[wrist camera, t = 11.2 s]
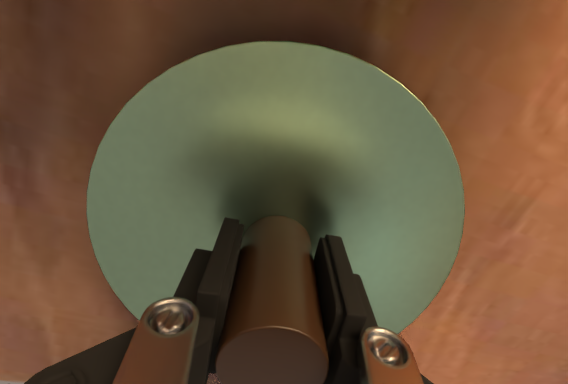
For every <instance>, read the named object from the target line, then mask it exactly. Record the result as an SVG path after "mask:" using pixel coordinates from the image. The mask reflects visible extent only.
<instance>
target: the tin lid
mask: <svg viewBox="0 0 568 384" xmlns="http://www.w3.org/2000/svg"><path fill="white" fill-rule="evenodd" d="M86 214H87V222H88V229H89V236H90V240H91V243H92V246H93V250H94V253H95V257H96V259H97V261H98V263H99V266H100V268H101V270H102V272H103V275H104V276H105V278H106V280H107V281H108V283H109V285H110V286H111V288H112V289H113V291H114V293H115V294H116V295H117V297H118V298H119V299H120V300H121V302H122V303H123V304H124V305H125V307H126V308H127V309H128V310H129V311H130V312H131V313H132V314H133V315H134V316H135V317H136V318H137V319H138V320H139V321H140V318H141V316H142V314H143V313H144V311H145V309H146V308H147V307H148V306H150V305H151V304H152V303H153V302H156V301H158V300H160V299H163V298H167V297H173V296H174V294H175V292H176V289H177V287H178V285H179V283H180V281H181V279H182V276H183V274H184V272H185V270H186V268H187V265H188V263H189V261H190V259H191V257H192V255H193V252H194V251H195V249H196V248H197V249H204V250H210V251H213V248H214V245H215V242H216V240H217V237H218V234H219V231H220V229H221V226H222V223H223V221H224V218H225V217H227V218H233V219H238V220H239V224H244V231H243V237H242V243H241V249H240V254H239V258H238V263H237V267H236V272H235V276H234V281H233V285H232V290H231V294H230V299H229V303H228V308H227V312H226V317H225V321H224V326H223V330H222V334H221V337H220V341H219V345H218V350H217V354H216V358H215V371H216V374H217V377H218V379H219V381H220V383H221V384H323V383H324V382H325V380H326V378H327V375H328V371H329V359H328V352H327V346H326V339H325V332H324V326H323V319H322V313H321V306H320V300H319V293H318V286H317V280H316V273H315V267H314V256H315V252H316V249H317V245H318V242H319V239H320V237H323V238H325V235H326V234H327V235H333V236H339V237H341V238H342V240H343V243H344V247H345V250H346V253H347V256H348V259H349V262H350V265H351V268H352V271H353V273H354V274H358V275H360V277H361V279H362V282H363V285H364V288H365V291H366V293H367V296H368V299H369V302H370V305H371V307H372V310H373V313H374V316H375V319H376V322H377V324H378V327H383V328H386V329H389V330H391V331H393V332H395V333H397V334H399V333H400V332H401V331H402V330H404V329H405V328H406V327H407V326H408V325H410V324H411V323H412V322H413V321H414V320H415V319H416V318H417V317H418V316H419V315H420V314H421V313H422V312H423V311H424V310H425V309H426V308H427V307H428V305H429V304H430V303H431V301H432V300H433V299H434V297H435V296H436V295H437V294H438V292H439V291H440V289H441V287H442V286H443V284H444V282H445V280H446V279H447V277H448V275H449V273H450V271H451V269H452V266H453V264H454V261H455V259H456V256H457V254H458V250H459V246H460V242H461V238H462V234H463V225H464V215H465V205H464V189H463V184H462V179H461V174H460V169H459V165H458V163H457V160H456V157H455V155H454V152H453V150H452V147H451V144H450V142H449V141H448V139H447V137H446V135H445V134H444V132H443V130H442V128H441V127H440V125H439V123H438V122H437V120H436V119H435V118H434V117H433V115H432V114H431V113H430V112H429V110H428V109H427V108H426V107H425V105H424V104H423V103H422V102H421V101H420V100H419V99H418V98H417V97H416V96H415V95H414V94H413V93H412V92H410V91H409V90H408V89H407V88H406V87H405V86H404V85H403V84H402V83H401V82H399V81H398V80H396V79H395V78H393V77H391V76H390V75H388V74H387V73H385V72H384V71H382V70H381V69H379V68H378V67H376V66H374V65H372V64H370V63H368V62H366V61H363V60H361V59H359V58H357V57H355V56H353V55H351V54H348V53H345V52H341V51H338V50H334V49H331V48H328V47H324V46H321V45H315V44H308V43H301V42H294V41H254V42H247V43H240V44H234V45H227V46H224V47H220V48H217V49H214V50H211V51H207V52H204V53H201V54H198V55H195V56H193V57H191V58H189V59H187V60H185V61H183V62H181V63H179V64H177V65H175V66H172V67H170V68H169V69H168V70H166V71H165V72H163V73H162V74H160V75H159V76H157V77H156V78H154V79H153V80H151V81H150V82H149V83H147V84H146V85H145V86H144V87H143V88H142V89H141V90H140V91H139V92H137V93H136V94H135V95H134V96H133V97H132V98H131V99H130V100H129V101H128V102H127V103H126V104H125V106H124V107H123V108H122V110H121V111H120V112H119V113H118V115H117V116H116V117H115V119H114V120H113V121H112V123H111V124H110V126H109V128H108V130H107V131H106V133H105V135H104V137H103V139H102V141H101V143H100V144H99V147H98V150H97V152H96V155H95V158H94V161H93V164H92V167H91V171H90V177H89V182H88V188H87V213H86Z"/></svg>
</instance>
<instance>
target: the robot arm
mask: <svg viewBox="0 0 568 384" xmlns="http://www.w3.org/2000/svg"><path fill="white" fill-rule="evenodd" d="M243 231H244V224H239V220H238V219H233V218H227V217H225V218H224V221H223V223H222V226H221V229H220V231H219V234H218V237H217V240H216V242H215V245H214V248H213V251H210V250H204V249H197V248H196V249H195V251H194V252H193V255H192V257H191V259H190V261H189V263H188V265H187V268H186V270H185V272H184V274H183V276H182V279H181V281H180V283H179V285H178V287H177V289H176V292H175V294H174V296H173V297H167V298H163V299H160V300H158V301H156V302H153V303H152V304H151V305H150V306H148V307H147V308H146V309H145V311H144V313H143V314H142V316H141V318H140V321H139V323H138V325H137V327H136V328H134V329H132V330H129V331H127V332H125V333H123V334H121V335H118V336H116V337H114V338H112V339H109V340H107V341H105V342H103V343H101V344H98V345H96V346H94V347H92V348H89V349H87V350H85V351H83V352H81V353H78V354H76V355H74V356H72V357H69V358H67V359H65V360H63V361H61V362H58V363H56V364H54V365H52V366H49V367H47V368H45V369H44V370H42V371H40V372H38V373H37V374H35V375H34V376H33V377H31V378H30V379H29V380H28V381H27V382H25V383H24V384H206V383H207V379H208V375H209V373H213V374H216V371H215V358H216V354H217V350H218V345H219V341H220V337H221V334H222V330H223V326H224V321H225V317H226V312H227V308H228V303H229V299H230V294H231V290H232V285H233V281H234V276H235V272H236V267H237V263H238V258H239V254H240V249H241V243H242V237H243ZM314 267H315V273H316V280H317V286H318V293H319V300H320V306H321V313H322V319H323V326H324V332H325V339H326V346H327V352H328V359H329V371H328V375H327V378H326V380H325V382H324V383H323V384H433V383H432V382H431V381H429V380H428V379H427V378H426V377H424V376H423V375H422V374H420V372H419V369H418V366H417V363H416V361H415V358H414V355H413V352H412V350H411V348H410V346H409V345H408V344H407V343H406V341H405V340H404V339H403V338H402V337H400V336H399V335H398V334H397V333H395V332H393V331H391V330H389V329H386V328H383V327H378V324H377V322H376V319H375V316H374V313H373V310H372V307H371V305H370V302H369V299H368V296H367V293H366V291H365V288H364V285H363V282H362V279H361V277H360V275H358V274H354V273H353V271H352V268H351V265H350V262H349V259H348V256H347V253H346V250H345V247H344V243H343V240H342V238H341V237H339V236H333V235H327V234H326V235H325V238H323V237H320V239H319V242H318V245H317V249H316V252H315V256H314Z"/></svg>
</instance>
